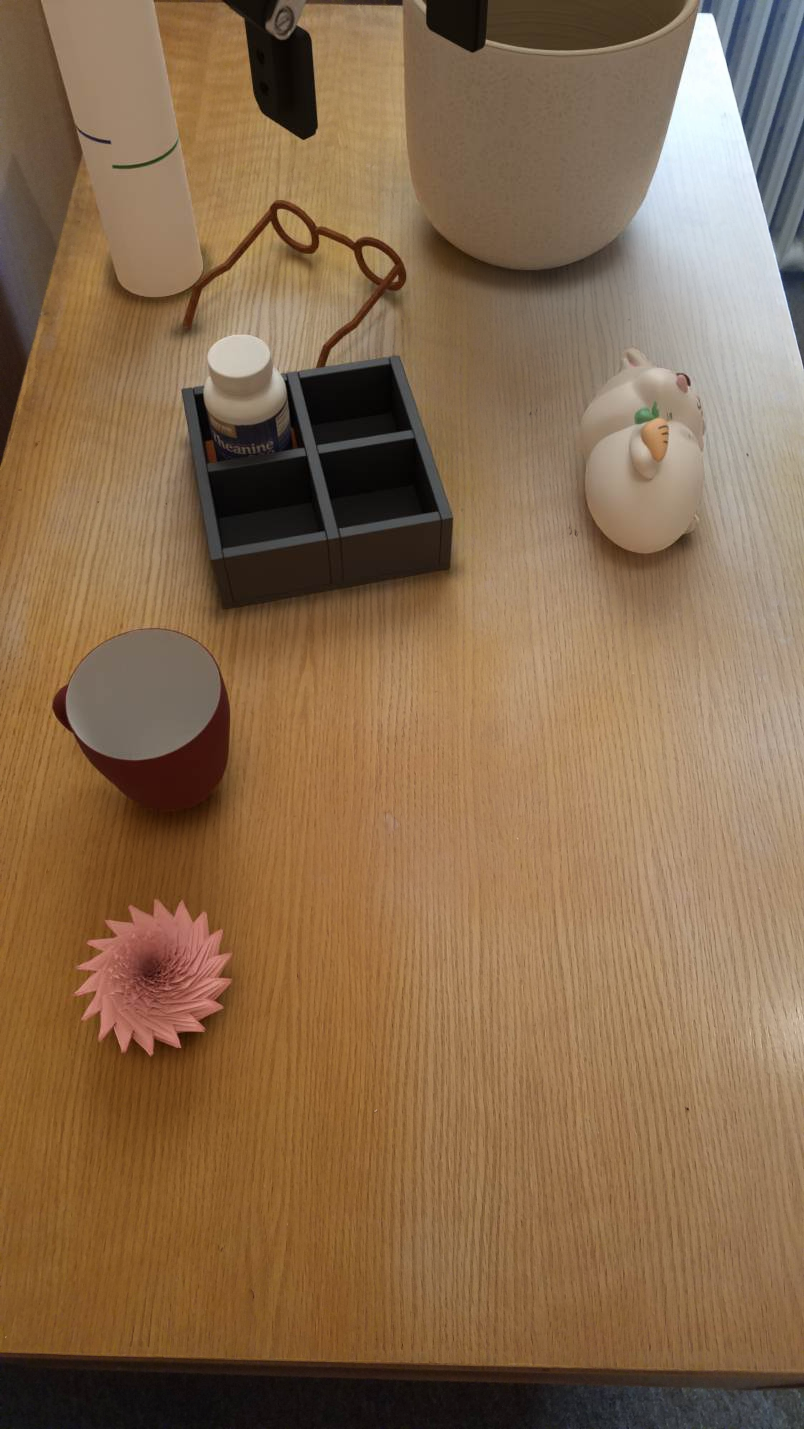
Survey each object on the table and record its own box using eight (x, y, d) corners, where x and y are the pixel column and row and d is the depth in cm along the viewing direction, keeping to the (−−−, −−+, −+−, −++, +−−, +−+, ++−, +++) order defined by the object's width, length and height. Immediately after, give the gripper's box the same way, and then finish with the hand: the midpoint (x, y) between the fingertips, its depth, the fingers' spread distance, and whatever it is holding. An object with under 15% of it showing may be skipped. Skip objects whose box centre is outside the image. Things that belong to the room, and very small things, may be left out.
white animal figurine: (687, 486, 60) (670, 294, 66) (560, 523, 64) (554, 339, 70) (731, 564, 67) (712, 385, 73) (614, 592, 71) (605, 420, 77)
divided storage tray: (399, 409, 76) (399, 354, 72) (450, 568, 68) (453, 518, 64) (193, 442, 74) (181, 388, 70) (222, 609, 67) (210, 560, 62)
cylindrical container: (142, 233, 86) (57, -124, 65) (218, 253, 85) (156, -105, 64) (100, 284, 83) (-5, -75, 62) (178, 305, 82) (98, -54, 60)
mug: (51, 820, 59) (-9, 737, 50) (99, 703, 63) (52, 607, 54) (226, 854, 58) (195, 775, 49) (264, 734, 62) (242, 641, 53)
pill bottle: (210, 490, 71) (185, 379, 62) (229, 434, 74) (207, 322, 65) (286, 499, 70) (271, 389, 62) (302, 443, 73) (290, 331, 65)
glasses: (409, 299, 82) (409, 243, 78) (314, 393, 77) (309, 339, 72) (279, 242, 86) (272, 186, 82) (179, 328, 80) (167, 273, 76)
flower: (118, 1098, 51) (89, 1077, 47) (73, 957, 55) (42, 924, 50) (265, 1029, 53) (251, 1002, 48) (212, 897, 57) (194, 859, 52)
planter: (633, 155, 92) (683, -94, 76) (657, 307, 82) (722, 56, 65) (404, 152, 93) (405, -97, 76) (399, 303, 82) (399, 52, 66)
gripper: (197, -457, 25) (274, 202, 40) (655, -568, 31) (574, 41, 46) (29, -513, 28) (160, 122, 42) (479, -605, 34) (456, -20, 48)
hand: (374, 80), depth 44 cm, fingers open, 9 cm apart
